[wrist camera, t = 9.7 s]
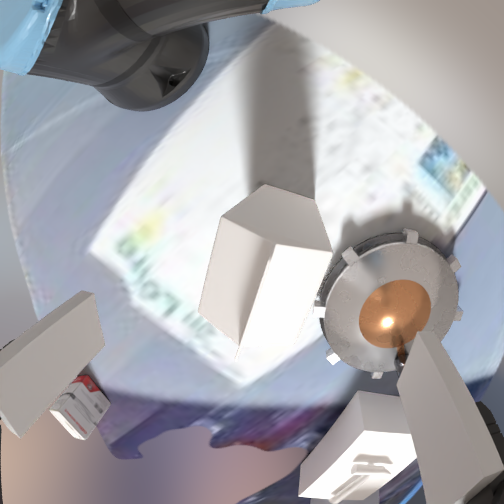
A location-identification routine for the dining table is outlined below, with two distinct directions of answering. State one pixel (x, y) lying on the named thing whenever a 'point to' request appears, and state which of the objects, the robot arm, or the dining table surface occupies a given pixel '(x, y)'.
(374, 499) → the plastic bottle
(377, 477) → the tissue box
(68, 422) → the ink box
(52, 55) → the robot arm
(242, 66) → the dining table surface
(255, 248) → the milk
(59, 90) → the dining table surface
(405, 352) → the sprocket
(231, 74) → the dining table surface
